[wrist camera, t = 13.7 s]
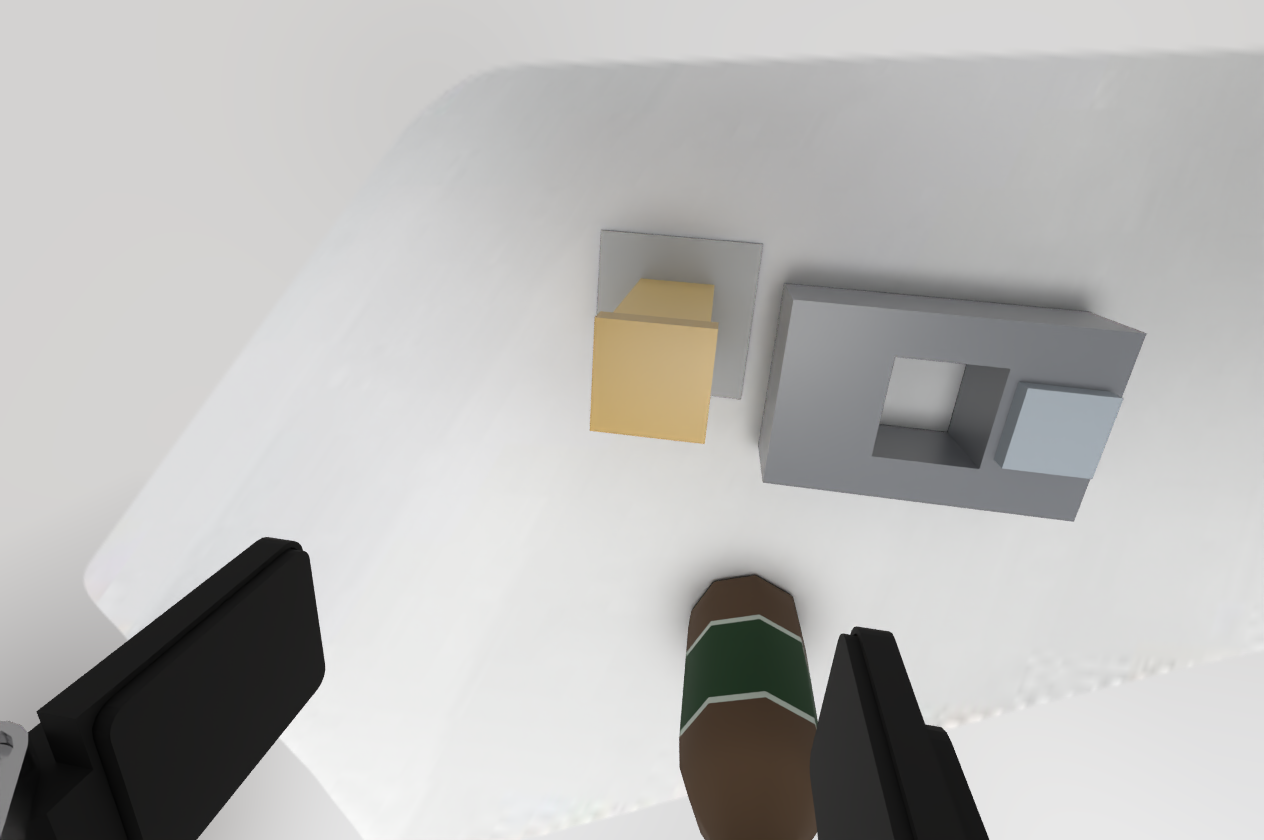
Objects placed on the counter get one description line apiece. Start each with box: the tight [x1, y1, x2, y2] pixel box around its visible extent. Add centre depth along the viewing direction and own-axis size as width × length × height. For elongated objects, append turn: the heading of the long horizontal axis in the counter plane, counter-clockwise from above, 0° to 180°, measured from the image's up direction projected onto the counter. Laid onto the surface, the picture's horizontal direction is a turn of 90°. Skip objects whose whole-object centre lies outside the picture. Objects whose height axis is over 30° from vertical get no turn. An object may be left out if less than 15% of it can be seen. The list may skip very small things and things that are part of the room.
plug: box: [590, 278, 719, 444], centre depth 31 cm, size 5×5×12 cm
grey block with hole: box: [758, 283, 1146, 522], centre depth 33 cm, size 16×10×6 cm, turn 86°
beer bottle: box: [679, 575, 818, 840], centre depth 32 cm, size 8×8×24 cm
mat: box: [597, 230, 763, 399], centre depth 36 cm, size 9×9×1 cm
